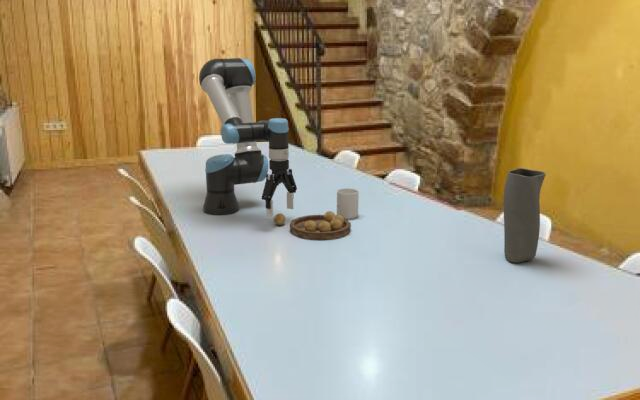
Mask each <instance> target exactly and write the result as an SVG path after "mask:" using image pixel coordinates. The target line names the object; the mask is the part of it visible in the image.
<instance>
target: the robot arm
mask: <svg viewBox="0 0 640 400" xmlns="http://www.w3.org/2000/svg"><path fill="white" fill-rule="evenodd" d="M198 81H199V82H198V83H199V86H200V87H201V89H202V91H203V92H204V93H206V94H207V96H208V98H209V101H210V103H211V104H212V106H213V109H214V110H215V112H216V114H217V116H218V117H217V118H219V121H220V122H221V125H222V126H221V129H220V136H221V140H222V141H223V142H222V143H225V144H227V145H229V144H232V145H235V144H236V149H237V150H236V151H235V152H234V156H233V155H232V154H229V153H226V154H216V155H214V156H213V155H212V156H211V157H209V158H207V159H206V160H205V168H204V170H205V180H206V181H205V183H206V193H205V194H206V196H205V198H204V203H203V207H202V208H203V213H206V214H208V215H212V216H215V215H217V216H221V215H222V216H223V215H231V214H234V213H237V212H239V210H240V205H239V202H238V199H237V196H236V193H235V186H237V185H247V184H256V183H259V182H260V183H261V182H263V181H265V183H264V187H263V191H262V195H261V200H262V201H265V209H266V210H265V212H266V213H265V214H266V217H268V218H274V200H273V196H274V194H275V192H276V190H277V188H278V186H280V184H283V185H284V187H285V189H286V191H287V192H286V209H289V210H294V198H295V197H294V193H297V190H298V187H297V184H296V181H295V178H294V175H293V169H292V168H290V159H289V158H290V157H289V156H290V155H289V150H290V149H289V147H290V146H289V129H290V128H289V121H288V120H287V118H282V117H281V118H280V117H276V118H275V117H274V118H270V119H269V120H259V121H257V122H256V121H254V117H253V116H254V115H253V109H252V103H251V95H250V92H251V91H252V90H253V86H254V85H255V83H256V71H255V66H254V64H253V63H252V61H250V59H247V58H240V57H236V58H212V59H210V60H208V61H206V62H205V63H204V64H203V65H202V67H201V69H200V71H199V74H198ZM257 142H268V157H267V156H266V155H265V154H263V153H262V150H261V148H259V147H258V143H257ZM268 159H269V161H268ZM269 169H270V170H271V173H270V174H269V173H268V172H269Z"/></svg>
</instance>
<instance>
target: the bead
mask: <svg viewBox="0 0 640 400" xmlns="http://www.w3.org/2000/svg"><path fill="white" fill-rule="evenodd" d="M273 221H274V223H275V224H276V225H277V226H282V225H284V224H285V223H286V216H285V214H283V213H277V214H275V215H274V216H273Z"/></svg>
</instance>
